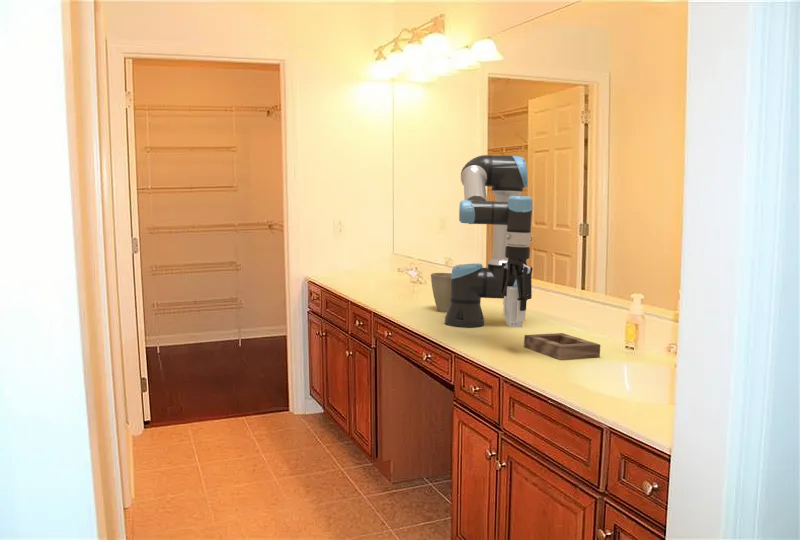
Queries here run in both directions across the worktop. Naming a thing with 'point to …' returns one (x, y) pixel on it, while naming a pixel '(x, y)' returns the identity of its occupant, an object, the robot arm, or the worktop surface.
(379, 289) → the worktop surface
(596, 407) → the worktop surface
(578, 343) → the tray
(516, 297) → the skincare box
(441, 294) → the plant pot
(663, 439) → the worktop surface
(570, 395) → the worktop surface
